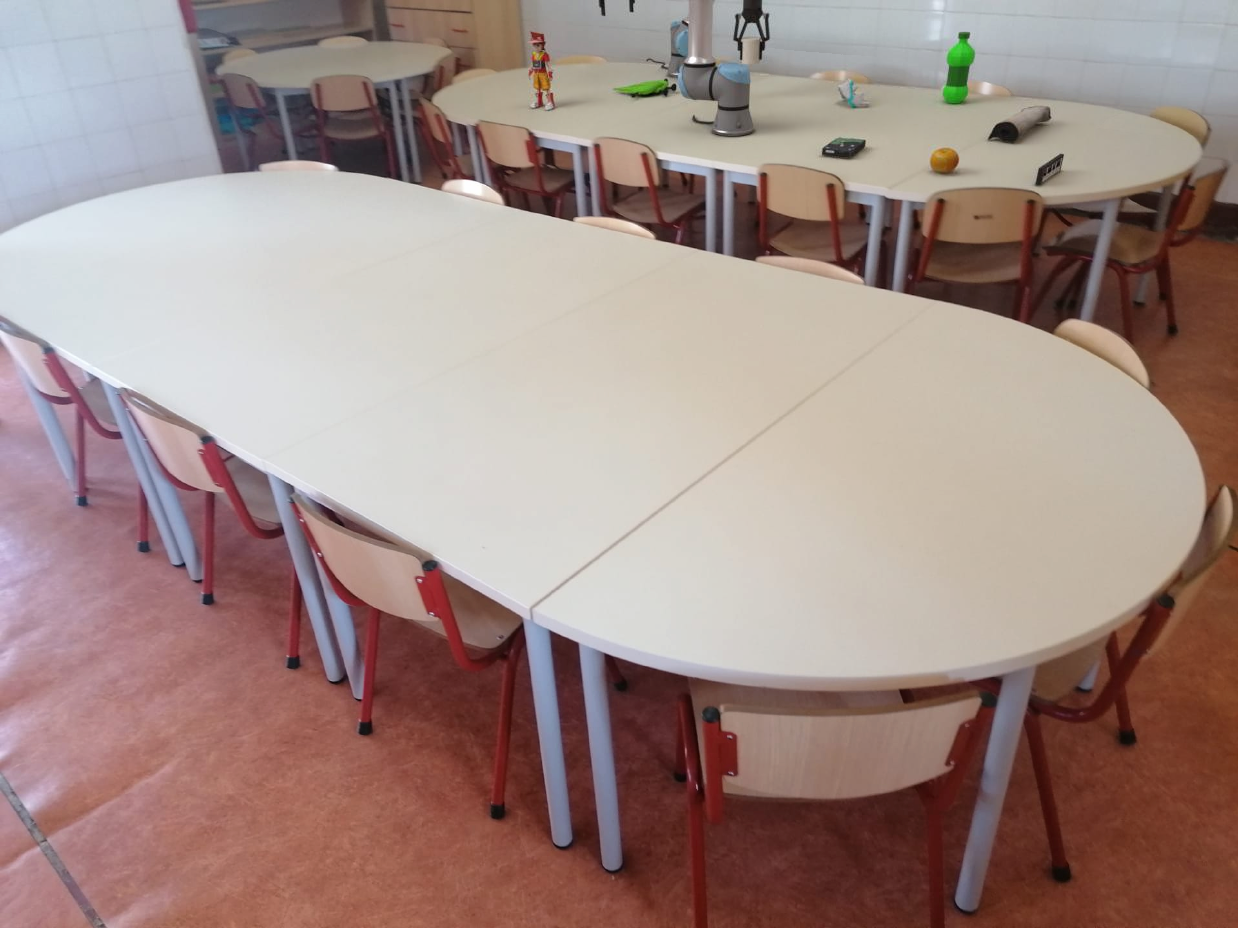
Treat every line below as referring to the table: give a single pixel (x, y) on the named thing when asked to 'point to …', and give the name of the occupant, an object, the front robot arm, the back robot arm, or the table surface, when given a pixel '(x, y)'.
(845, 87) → the anatomical model
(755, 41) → the can
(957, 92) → the plastic bottle
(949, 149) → the fruit
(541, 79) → the toy
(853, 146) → the disk drive
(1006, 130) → the rolled mat
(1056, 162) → the midi keyboard
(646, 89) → the toy
